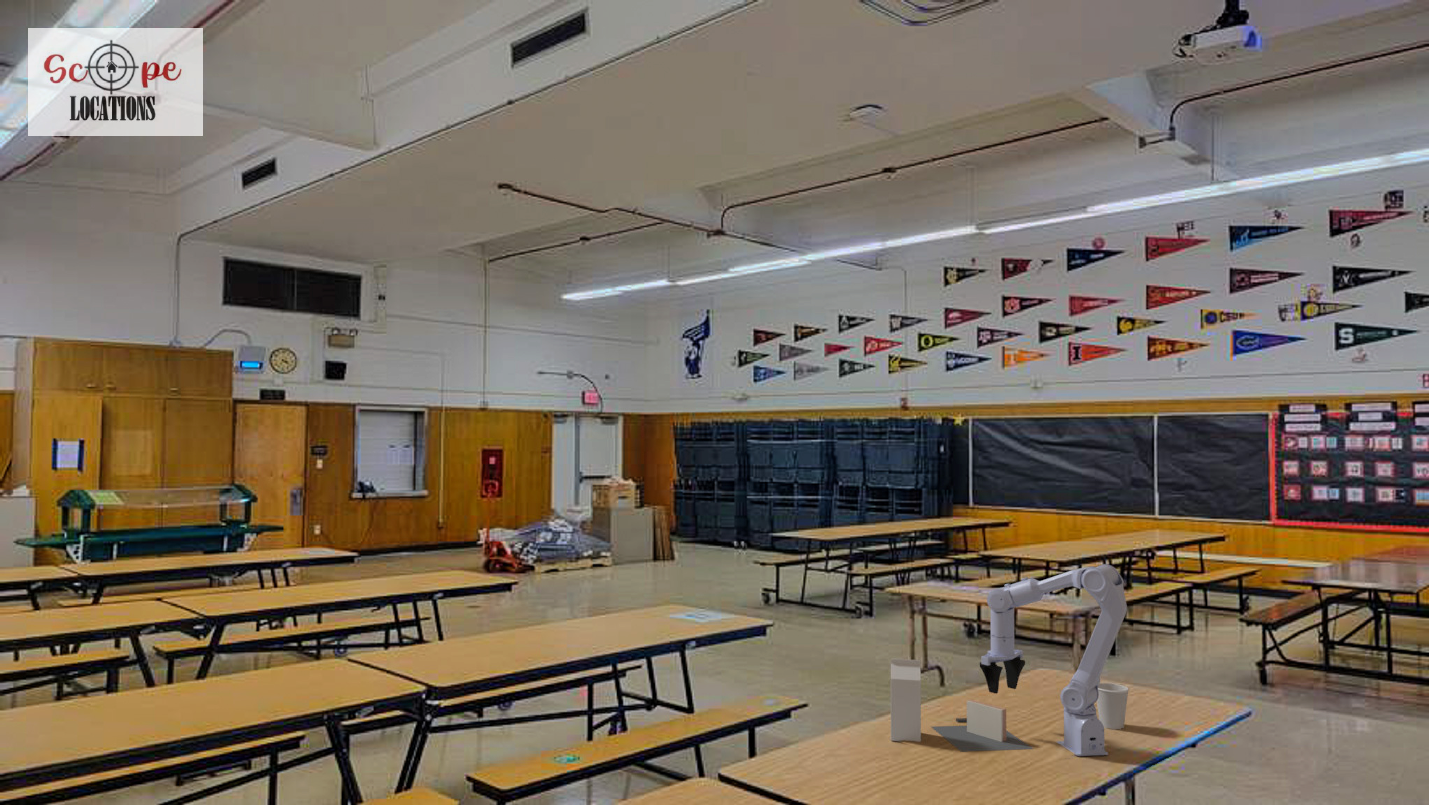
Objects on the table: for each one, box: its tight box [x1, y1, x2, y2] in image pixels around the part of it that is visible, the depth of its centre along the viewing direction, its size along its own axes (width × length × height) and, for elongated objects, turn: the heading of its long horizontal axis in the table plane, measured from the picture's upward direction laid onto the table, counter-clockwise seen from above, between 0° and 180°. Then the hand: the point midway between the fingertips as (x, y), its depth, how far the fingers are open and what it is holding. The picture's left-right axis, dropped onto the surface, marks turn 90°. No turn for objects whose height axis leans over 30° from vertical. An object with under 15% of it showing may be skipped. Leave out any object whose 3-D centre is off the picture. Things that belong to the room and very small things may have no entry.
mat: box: [931, 725, 1034, 753], centre depth 220 cm, size 19×18×1 cm
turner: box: [955, 717, 967, 723], centre depth 233 cm, size 19×7×1 cm, turn 98°
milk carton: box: [890, 658, 922, 742], centre depth 221 cm, size 7×7×19 cm
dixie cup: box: [1096, 682, 1130, 730], centre depth 233 cm, size 8×8×10 cm
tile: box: [966, 699, 1007, 742], centre depth 222 cm, size 2×10×8 cm, turn 38°
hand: (1002, 690), depth 227 cm, fingers open, 7 cm apart
